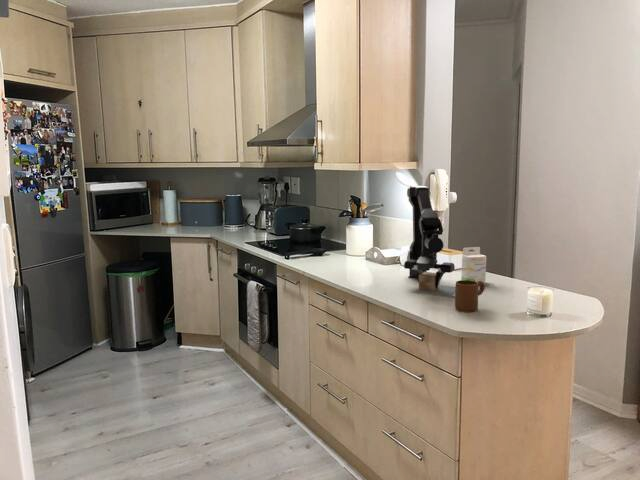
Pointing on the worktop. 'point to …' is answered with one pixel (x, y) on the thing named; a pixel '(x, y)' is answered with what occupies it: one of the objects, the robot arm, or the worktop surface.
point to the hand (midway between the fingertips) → (428, 287)
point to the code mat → (440, 291)
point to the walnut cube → (427, 281)
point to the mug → (467, 295)
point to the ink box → (473, 265)
